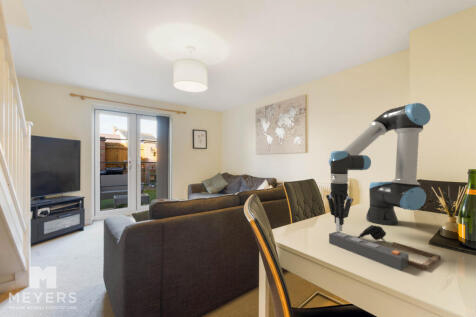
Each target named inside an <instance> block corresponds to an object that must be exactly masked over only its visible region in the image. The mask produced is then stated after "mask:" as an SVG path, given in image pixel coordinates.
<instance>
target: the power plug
mask: <svg viewBox="0 0 476 317" xmlns="http://www.w3.org/2000/svg"><path fill="white" fill-rule="evenodd" d="M369 235H370V236H371V238H372V239H373V240H374V241H379V240H381V241H383V242H384V243H386V240H385V238H384V237H385V236H386V235H387V232H386V231H385V229H383V227H382V226H380V225H373V224H372V225H369V226H367V227H366V228H365V229H364V230H363V231H362V232H360V234H359V235H358V236H357V238H360V239H361V238H365V237H366V236H369Z"/></svg>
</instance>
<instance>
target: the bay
mask: <svg viewBox="0 0 476 317" xmlns="http://www.w3.org/2000/svg"><path fill="white" fill-rule="evenodd" d="M392 247H394V248H397V249H399V250H400V249H401V250H405V251H407V252H411V253H414V254H418V255H419V256H420V255H422V256H424V257H427V258H428V259H427V260H425V261H424V262H423V263H420V262H418V261H414V260H411V259H409V266H410V267H413V268H416V269H418V270H421V271H424V272H425V271H427V270H428V269H430V268H431V267H432V266H434V265H435V264H437V262H439V261H440V260H442V256H441V255H439V254H435V253H432V252H428V251H426V250H422V249H418V248H416V247H413V246H408V245H406V244H402V243H399V242H396V241H395V242H392ZM409 266H408V267H409Z"/></svg>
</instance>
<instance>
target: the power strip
mask: <svg viewBox="0 0 476 317" xmlns="http://www.w3.org/2000/svg"><path fill="white" fill-rule="evenodd" d="M328 236H329V237H328V242H329V244H331V245H334V246H336V247H338V248H341V249H343V250H346V251H348V252H352V253H354V254H357V255H359V256H361V257H363V258H366V259H370V260H372V261H375V262H377V263H379V264H382V265H384V266H387V267H390V268H391V269H394V270H398V271H403V270H404V269H405V268H408V267H409V260H410V259H409V253H406V252H402V251H399V250H396V249H394V248H390V247H387V246H384V245H383V244H382V245H381V244H379V243H376V242H372V241H369V240H366V239H363V238H361V237H360V238H357V237H358V236H357V237H356V236H353V235H350V234H347V233H344V232H342V231H340V232H338V231H334V232H331V233H328Z"/></svg>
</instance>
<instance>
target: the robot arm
mask: <svg viewBox="0 0 476 317" xmlns="http://www.w3.org/2000/svg"><path fill="white" fill-rule="evenodd" d="M430 120H431V112H430V110H429V108H428V107H427V106H426V105H425V104H423V103H421V102H414V103H408V104H405V105H402V106H398V107H395V108H390V109H388V110H385V111H384V112H383V113H381V114H380V115H379V116H378V117H376V118H374V119H373V120H372V121H371V122H370V124H369V126H368V127H367V128H366V129H365V130H364V131H363V132H361V133H360V135H358V136H357V137H356V138H355V139H353V141H352V142H350V143H349V144H348V145H347V146H346V147H345V148H343V149H342V150H333V151H331V152H330V157H329V160H328V164H329V166H330V193H329V194H327V195H326V196H325V197H326V200H327V202H328V207H329V212H330V215H331V216H333V217H334V224H335V232H337V231H338V232H343V226H344V225H345V224H344V223H345V220H344V219H347V218H348V217H349V214H350V211H351V206H352V203H353V201H354V198H351V197H350V196H349V193H348V190H349V188H348V187H349V186H348V185H349V184H348V182H349V179H348V178H349V177H348V176H349V174H348V173H349V171H367V170H368V169H369V168H370V167H371V166H372V160H371V158H370V157H369V156H368V155H365V154H361V153H363V151H365V150H366V149H367V148H368V147H369V146H370V145H372V144H373V142H375V141H376V140H377V139H378V138H380V136H384V135H385V134H386V133H389V132H390V131H394V132H395V133H396V134H397V138H396V140H397V141H396V155H395V156H396V157H395V158H396V159H395V171H394V172H395V173H394V174H395V176H394V179H392V180H391V181H372V182H370V183H369V188H368V189H369V190H368V191H369V192H368V193H369V194H368V196H369V207H368V210H367V213H366V216H365V218H366V221H368V222H371V223H375V224H379V225H385V226H386V225H387V226H396V225H398V224H399V222H398V221H399V219H398V216H397V214H396V211H395V208H400V209H403V210H408V211H417V210H419V209H421V207H423V206H424V205H425V203H426V200H427V194H426V192H425V190H424V189H423V188H422V187H421V183H420V182H419V181H417V177H418V176H417V174H418V155H419V154H418V153H419V138H420V137H419V136H420V133H421V132H423V130H424V126H426V125H427V124H429V122H430Z"/></svg>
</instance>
